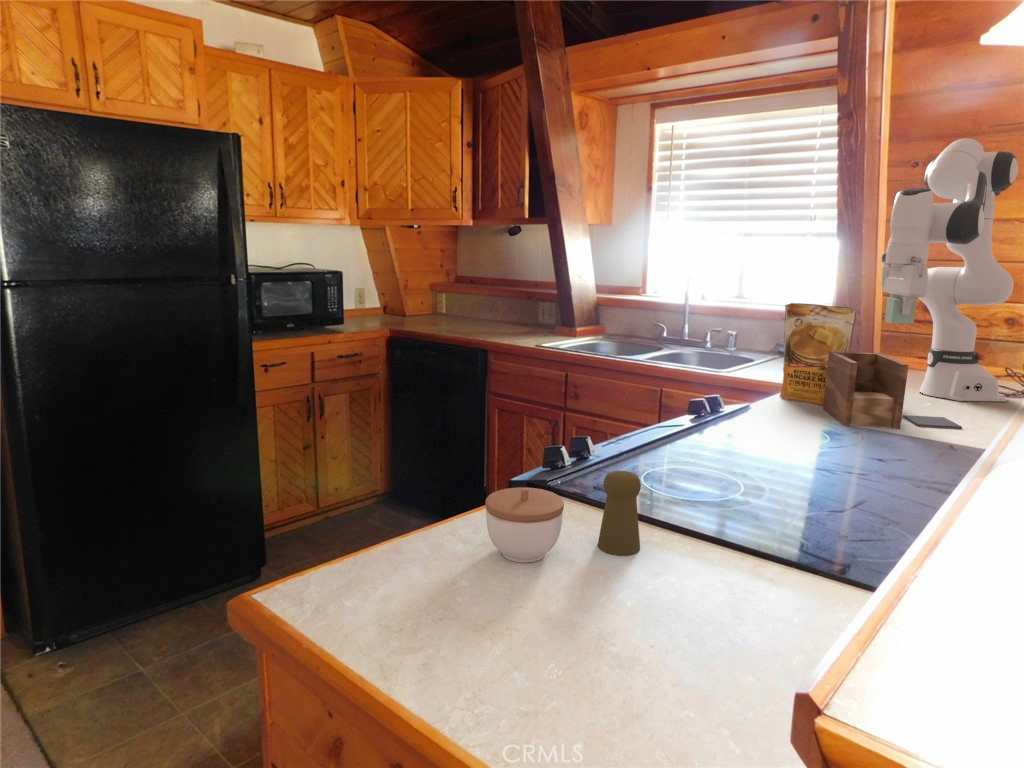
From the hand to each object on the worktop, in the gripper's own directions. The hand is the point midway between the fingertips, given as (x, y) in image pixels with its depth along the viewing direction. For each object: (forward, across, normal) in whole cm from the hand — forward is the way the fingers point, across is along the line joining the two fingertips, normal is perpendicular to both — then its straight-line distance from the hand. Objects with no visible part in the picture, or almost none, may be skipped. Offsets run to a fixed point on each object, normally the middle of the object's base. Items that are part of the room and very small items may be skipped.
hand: (900, 313), depth 169 cm
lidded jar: (+25, -98, +78) cm, 128 cm away
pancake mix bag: (+28, +21, +14) cm, 38 cm away
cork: (+25, -93, +65) cm, 116 cm away
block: (+2, 0, 0) cm, 2 cm away
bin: (+28, +2, +6) cm, 29 cm away
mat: (+28, +1, -11) cm, 30 cm away
